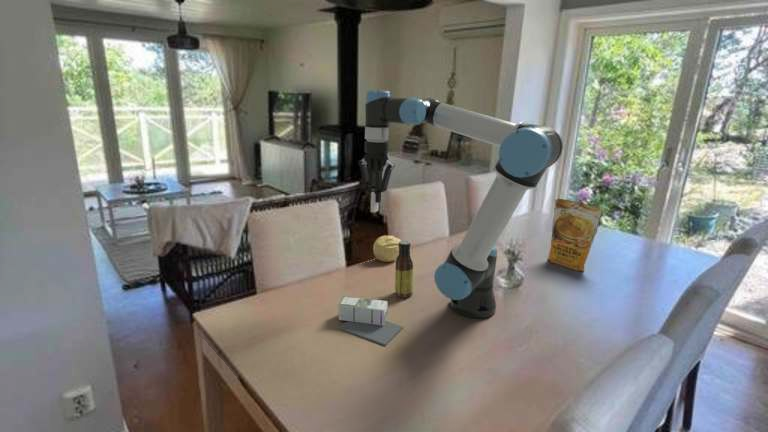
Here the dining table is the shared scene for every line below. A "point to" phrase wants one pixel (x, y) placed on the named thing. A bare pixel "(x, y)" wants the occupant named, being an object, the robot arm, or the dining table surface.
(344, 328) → the felt mat
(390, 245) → the yellow round lump
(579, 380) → the dining table surface
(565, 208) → the pancake mix bag
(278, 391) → the dining table surface
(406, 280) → the sauce bottle
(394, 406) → the dining table surface
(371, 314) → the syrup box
